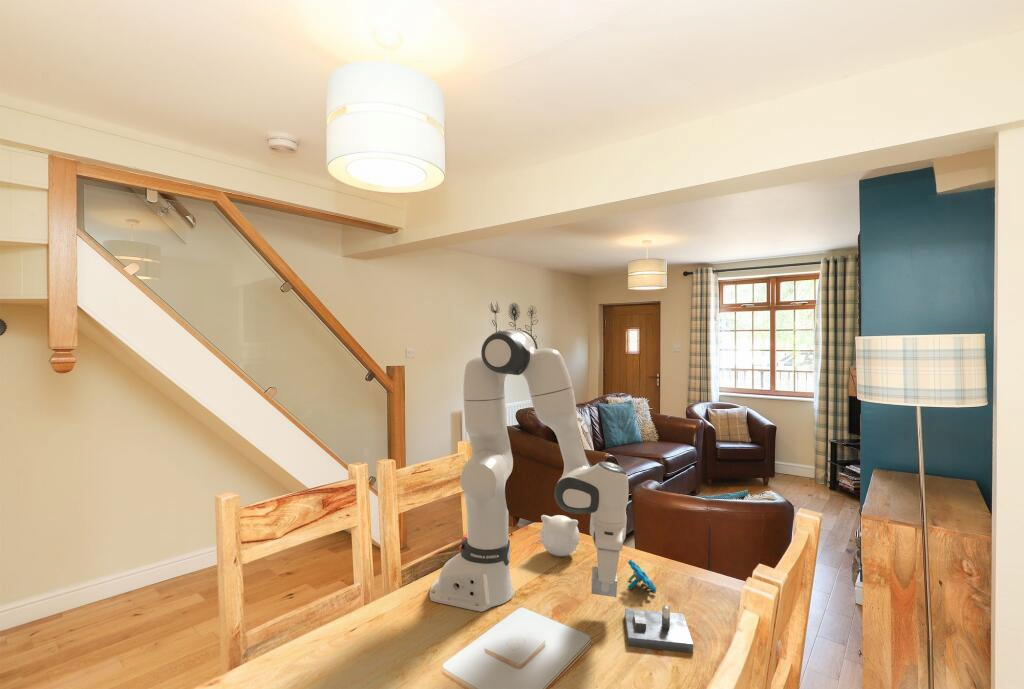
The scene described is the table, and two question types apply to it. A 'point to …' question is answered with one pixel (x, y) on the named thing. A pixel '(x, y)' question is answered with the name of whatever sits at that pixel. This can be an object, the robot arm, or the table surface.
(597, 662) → the table surface
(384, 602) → the table surface
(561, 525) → the cat head
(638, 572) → the gear
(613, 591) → the collar
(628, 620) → the shaft stand
